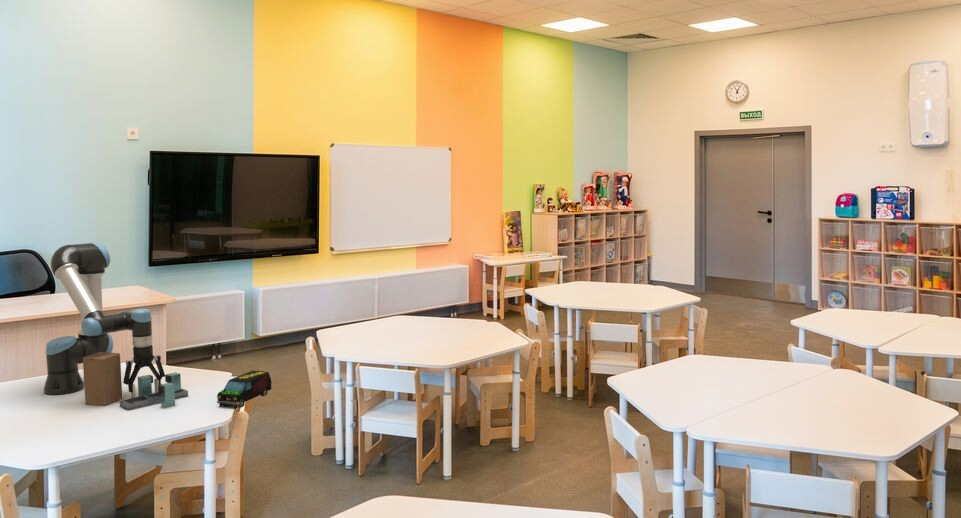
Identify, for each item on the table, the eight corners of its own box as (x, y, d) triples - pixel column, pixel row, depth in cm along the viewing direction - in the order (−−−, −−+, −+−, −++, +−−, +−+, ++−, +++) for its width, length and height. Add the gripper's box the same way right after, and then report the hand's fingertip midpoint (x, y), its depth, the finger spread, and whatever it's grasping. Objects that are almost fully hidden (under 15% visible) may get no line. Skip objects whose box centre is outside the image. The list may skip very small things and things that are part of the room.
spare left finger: (158, 406, 283) (157, 385, 282) (170, 403, 286) (169, 382, 286) (163, 408, 280) (162, 386, 279) (175, 405, 284) (174, 384, 283)
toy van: (215, 407, 282) (214, 383, 281) (252, 390, 306) (252, 368, 304) (237, 409, 279) (236, 385, 278) (273, 392, 302) (272, 370, 301)
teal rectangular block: (138, 397, 295) (137, 376, 294) (150, 394, 299) (149, 374, 298) (142, 399, 292) (141, 378, 291) (154, 396, 296) (153, 376, 295)
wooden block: (105, 405, 283) (103, 358, 281) (84, 404, 285) (82, 357, 283) (122, 398, 293) (120, 352, 291) (102, 397, 295) (100, 351, 293)
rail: (119, 406, 282) (118, 382, 281) (179, 392, 301) (178, 370, 300) (128, 410, 277) (126, 386, 276) (188, 396, 296) (187, 373, 295)
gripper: (119, 351, 282) (122, 404, 284) (172, 342, 299) (174, 392, 301) (112, 348, 287) (115, 400, 289) (164, 339, 304) (166, 389, 306)
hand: (145, 396), depth 295 cm, fingers open, 9 cm apart
